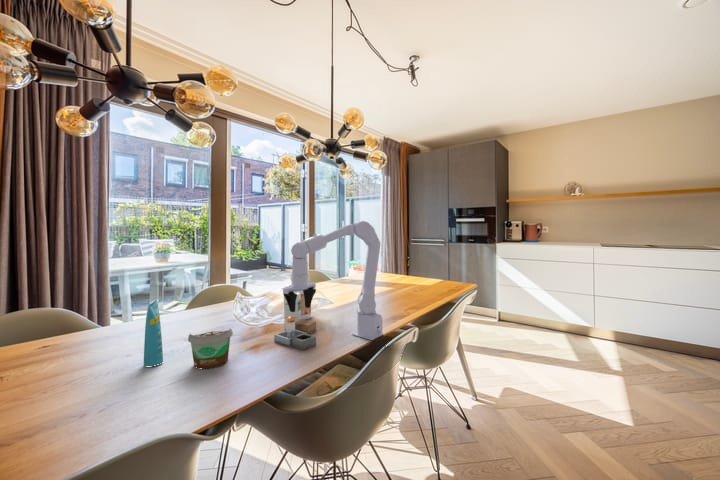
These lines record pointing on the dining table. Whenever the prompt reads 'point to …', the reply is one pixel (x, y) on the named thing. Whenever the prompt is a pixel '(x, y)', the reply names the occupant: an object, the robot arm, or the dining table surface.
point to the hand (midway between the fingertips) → (300, 309)
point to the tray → (285, 337)
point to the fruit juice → (304, 310)
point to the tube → (153, 336)
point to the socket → (303, 341)
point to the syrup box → (296, 314)
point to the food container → (210, 348)
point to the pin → (290, 327)
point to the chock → (305, 326)
